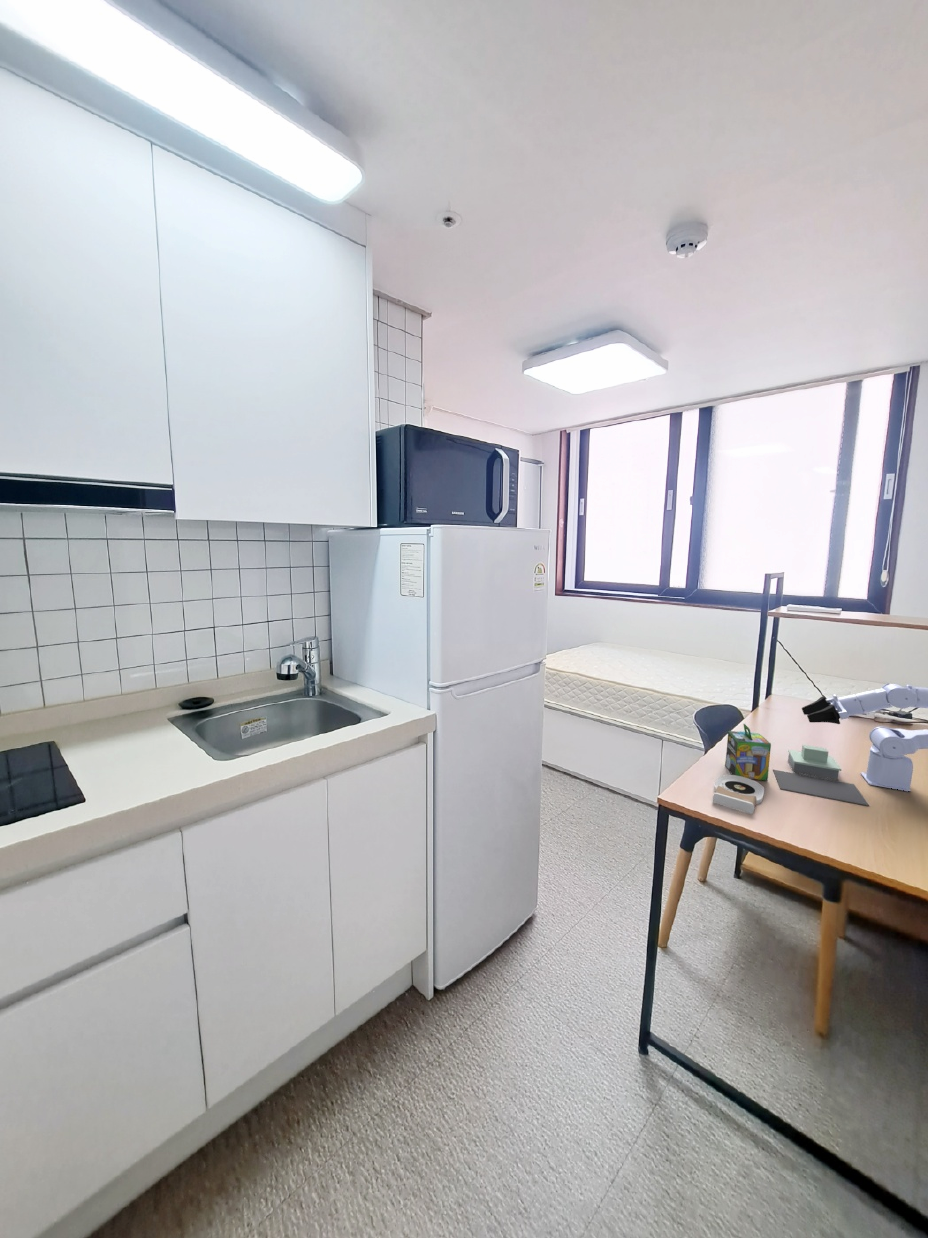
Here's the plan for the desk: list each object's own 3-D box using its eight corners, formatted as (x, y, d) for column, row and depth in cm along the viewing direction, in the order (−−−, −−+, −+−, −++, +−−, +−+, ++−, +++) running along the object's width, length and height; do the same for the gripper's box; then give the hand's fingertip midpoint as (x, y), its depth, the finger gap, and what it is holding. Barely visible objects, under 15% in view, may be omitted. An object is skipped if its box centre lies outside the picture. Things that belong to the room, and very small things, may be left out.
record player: (708, 791, 128) (721, 766, 144) (707, 802, 129) (720, 776, 145) (759, 806, 121) (766, 777, 137) (758, 817, 122) (765, 788, 138)
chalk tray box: (829, 769, 150) (830, 758, 150) (837, 781, 142) (839, 770, 142) (787, 762, 155) (789, 751, 154) (793, 773, 147) (794, 762, 146)
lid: (832, 761, 150) (834, 746, 149) (840, 773, 141) (843, 757, 141) (788, 753, 155) (789, 739, 154) (793, 765, 146) (795, 750, 145)
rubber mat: (853, 785, 139) (854, 784, 139) (869, 806, 128) (869, 805, 128) (773, 770, 148) (773, 769, 148) (780, 789, 136) (780, 788, 136)
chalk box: (768, 782, 140) (774, 733, 138) (733, 778, 142) (739, 730, 140) (756, 768, 149) (761, 722, 147) (723, 764, 151) (728, 719, 149)
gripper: (846, 684, 148) (795, 696, 154) (861, 697, 135) (805, 709, 141) (854, 706, 148) (804, 717, 154) (870, 721, 135) (814, 732, 141)
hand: (805, 715), depth 147 cm, fingers open, 7 cm apart
